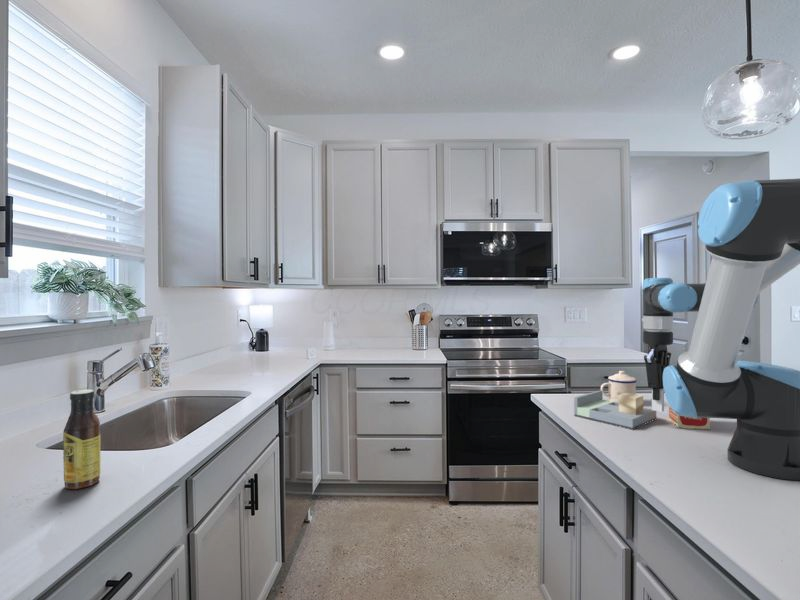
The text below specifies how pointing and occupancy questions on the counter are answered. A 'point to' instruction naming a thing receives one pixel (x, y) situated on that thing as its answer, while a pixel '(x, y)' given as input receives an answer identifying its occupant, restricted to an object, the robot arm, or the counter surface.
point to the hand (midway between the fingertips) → (657, 410)
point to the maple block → (631, 403)
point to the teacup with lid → (619, 386)
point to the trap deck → (609, 411)
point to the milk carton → (688, 421)
